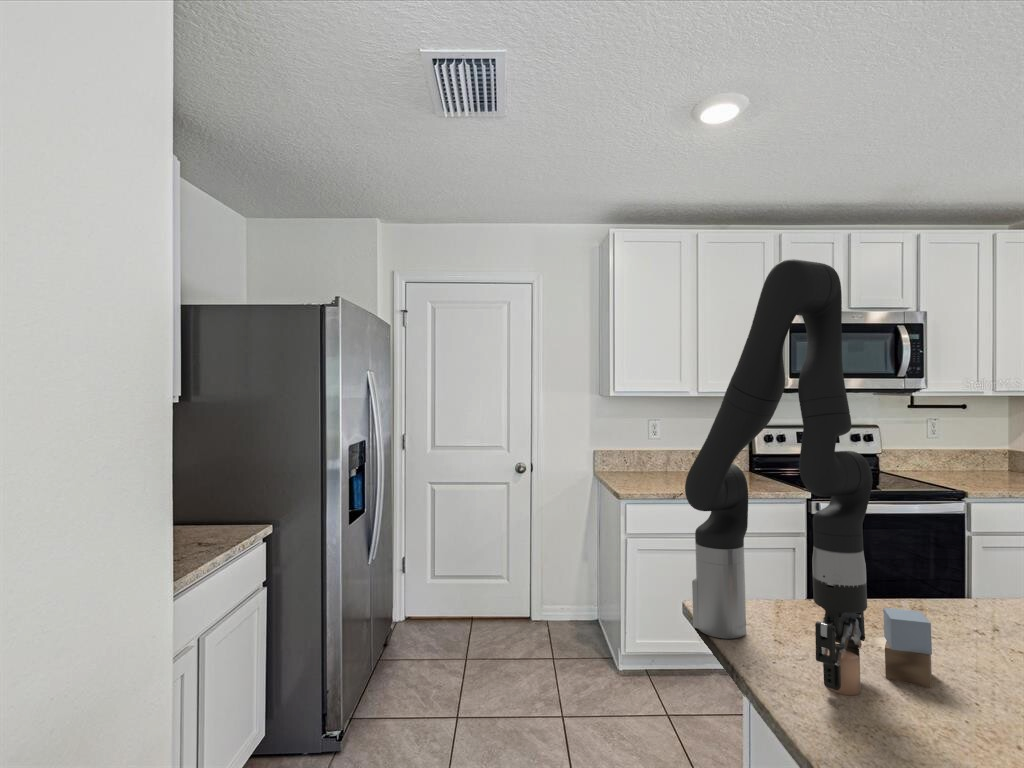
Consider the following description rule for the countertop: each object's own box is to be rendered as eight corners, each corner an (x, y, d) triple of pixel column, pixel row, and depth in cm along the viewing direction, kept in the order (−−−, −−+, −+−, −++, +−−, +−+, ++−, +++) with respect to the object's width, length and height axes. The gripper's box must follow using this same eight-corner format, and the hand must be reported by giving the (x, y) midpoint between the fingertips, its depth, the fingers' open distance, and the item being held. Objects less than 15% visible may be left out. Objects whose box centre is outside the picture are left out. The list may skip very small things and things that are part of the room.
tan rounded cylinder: (819, 687, 93) (818, 655, 93) (832, 676, 96) (830, 646, 96) (853, 698, 89) (852, 665, 89) (865, 687, 93) (864, 655, 93)
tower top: (891, 649, 95) (890, 618, 95) (884, 636, 100) (883, 607, 100) (932, 654, 93) (930, 622, 93) (922, 641, 98) (921, 611, 98)
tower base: (885, 678, 96) (884, 647, 96) (888, 664, 100) (887, 635, 101) (930, 688, 92) (929, 656, 92) (931, 674, 97) (930, 643, 97)
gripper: (830, 562, 101) (833, 657, 100) (796, 580, 91) (799, 685, 91) (880, 571, 95) (883, 672, 95) (848, 591, 86) (852, 703, 85)
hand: (842, 678), depth 93 cm, fingers open, 8 cm apart
